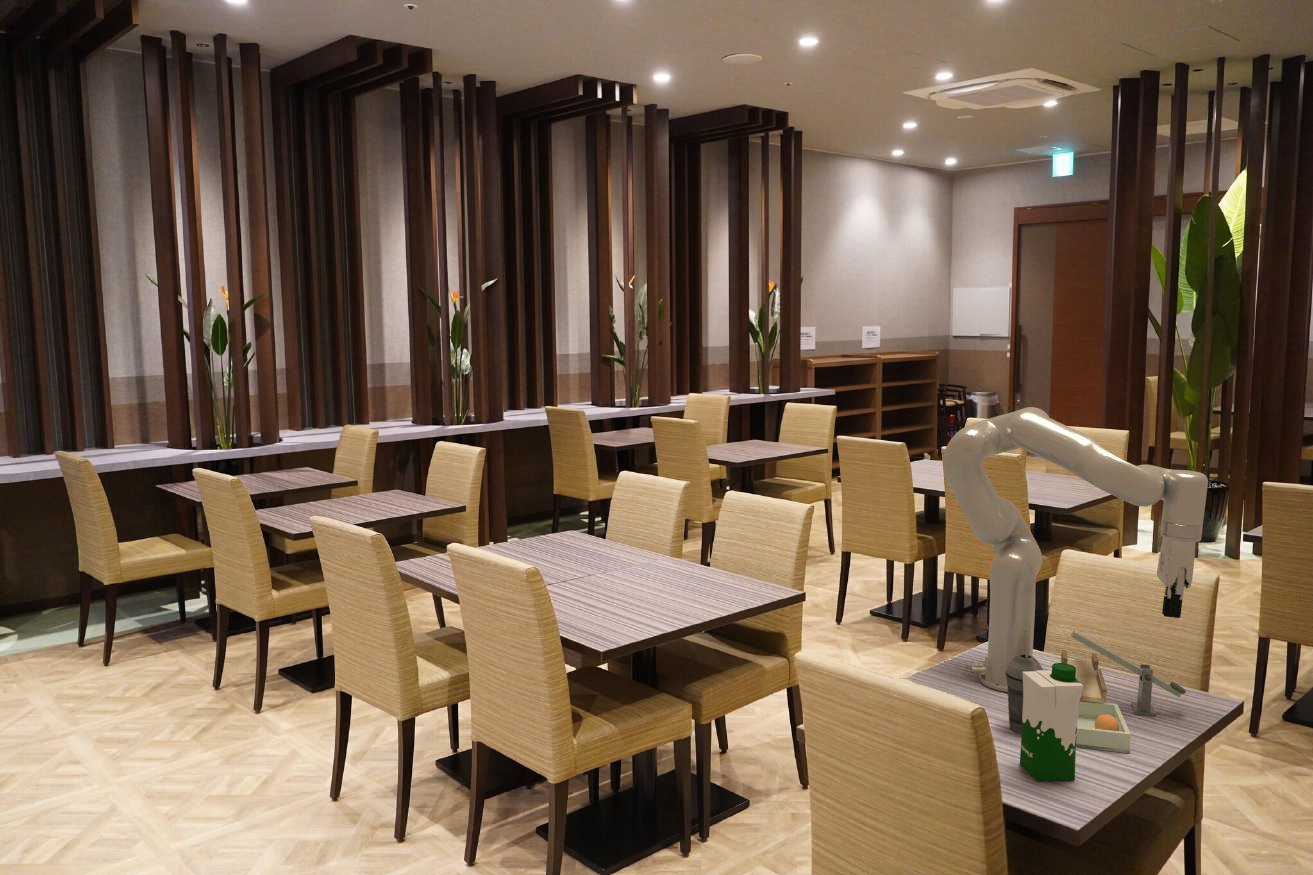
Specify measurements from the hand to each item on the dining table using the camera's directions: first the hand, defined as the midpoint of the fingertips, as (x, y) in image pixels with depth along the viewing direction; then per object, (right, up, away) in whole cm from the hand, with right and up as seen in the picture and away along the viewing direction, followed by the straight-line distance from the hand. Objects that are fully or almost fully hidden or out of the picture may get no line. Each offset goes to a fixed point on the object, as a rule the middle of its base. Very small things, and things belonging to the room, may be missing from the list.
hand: (1171, 616), depth 205 cm
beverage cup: (-34, -22, -7) cm, 41 cm away
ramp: (-17, -20, +4) cm, 27 cm away
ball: (-19, -19, -12) cm, 30 cm away
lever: (-8, -11, +3) cm, 14 cm away
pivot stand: (-4, -21, +3) cm, 21 cm away
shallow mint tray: (-21, -22, -9) cm, 31 cm away
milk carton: (-36, -24, -25) cm, 50 cm away
